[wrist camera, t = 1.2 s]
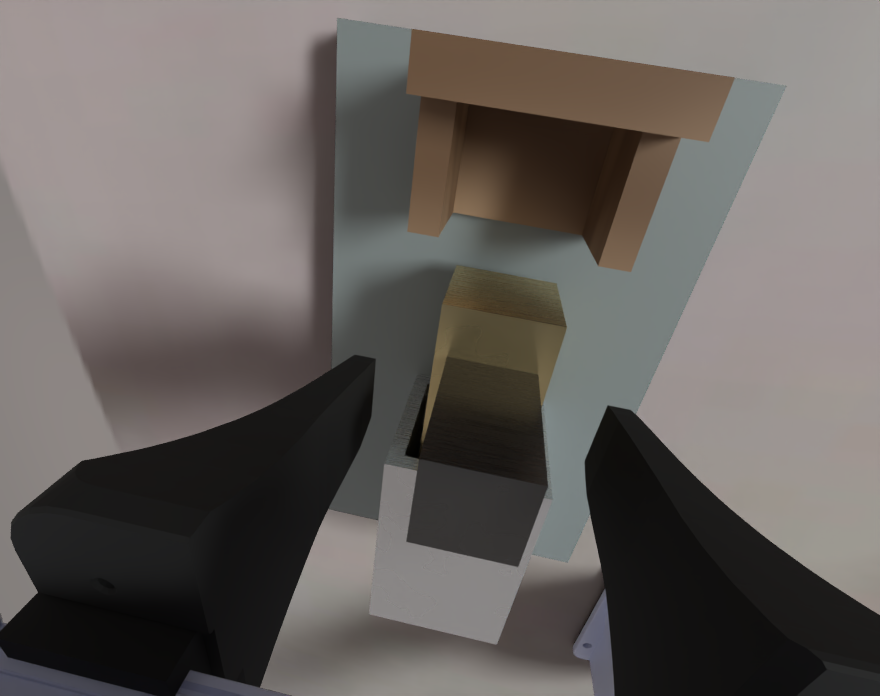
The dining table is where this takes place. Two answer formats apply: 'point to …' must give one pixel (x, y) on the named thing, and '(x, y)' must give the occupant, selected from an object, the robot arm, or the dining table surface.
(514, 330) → the brushed brass bar
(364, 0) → the dining table surface
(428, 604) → the aluminium sleeve
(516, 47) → the walnut socket
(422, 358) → the slate board
